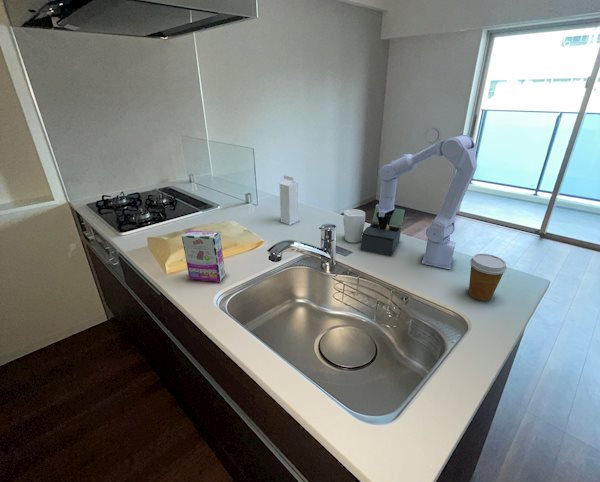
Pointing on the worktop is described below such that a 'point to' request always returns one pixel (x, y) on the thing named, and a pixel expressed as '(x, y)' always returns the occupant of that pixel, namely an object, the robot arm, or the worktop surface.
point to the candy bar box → (204, 255)
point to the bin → (380, 239)
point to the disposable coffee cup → (485, 275)
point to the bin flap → (395, 219)
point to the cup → (353, 225)
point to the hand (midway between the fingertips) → (384, 228)
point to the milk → (289, 200)
